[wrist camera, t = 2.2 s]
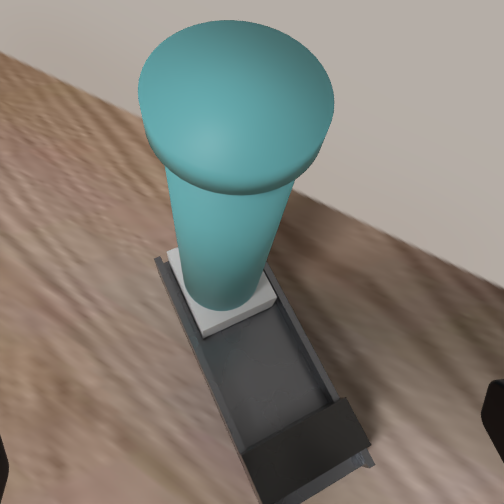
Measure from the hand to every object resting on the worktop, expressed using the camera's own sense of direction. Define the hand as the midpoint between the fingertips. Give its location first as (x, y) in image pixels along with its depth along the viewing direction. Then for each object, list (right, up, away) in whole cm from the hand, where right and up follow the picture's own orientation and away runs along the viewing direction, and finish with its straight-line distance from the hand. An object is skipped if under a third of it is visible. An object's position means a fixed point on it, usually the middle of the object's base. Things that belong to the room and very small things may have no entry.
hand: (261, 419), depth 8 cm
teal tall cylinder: (-2, +1, +13) cm, 13 cm away
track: (0, -2, +13) cm, 13 cm away
